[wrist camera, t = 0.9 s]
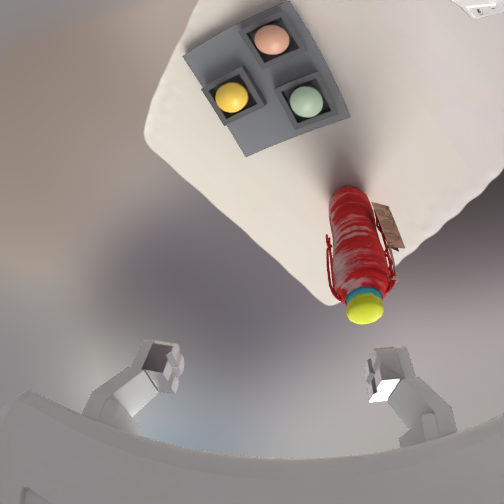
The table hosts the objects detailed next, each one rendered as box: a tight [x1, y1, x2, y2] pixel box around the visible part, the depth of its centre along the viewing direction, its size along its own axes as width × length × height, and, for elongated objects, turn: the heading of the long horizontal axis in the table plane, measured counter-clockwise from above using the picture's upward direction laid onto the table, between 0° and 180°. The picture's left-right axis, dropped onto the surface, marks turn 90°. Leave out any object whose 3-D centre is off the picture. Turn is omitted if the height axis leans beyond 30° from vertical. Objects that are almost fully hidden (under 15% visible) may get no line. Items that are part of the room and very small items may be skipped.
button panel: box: [182, 1, 350, 157], centre depth 33 cm, size 18×20×4 cm
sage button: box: [290, 86, 323, 117], centre depth 33 cm, size 4×4×2 cm
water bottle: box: [326, 186, 405, 324], centre depth 37 cm, size 12×8×25 cm, turn 112°
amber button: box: [215, 82, 249, 112], centre depth 34 cm, size 4×4×2 cm
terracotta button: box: [254, 25, 290, 54], centre depth 27 cm, size 4×4×2 cm
